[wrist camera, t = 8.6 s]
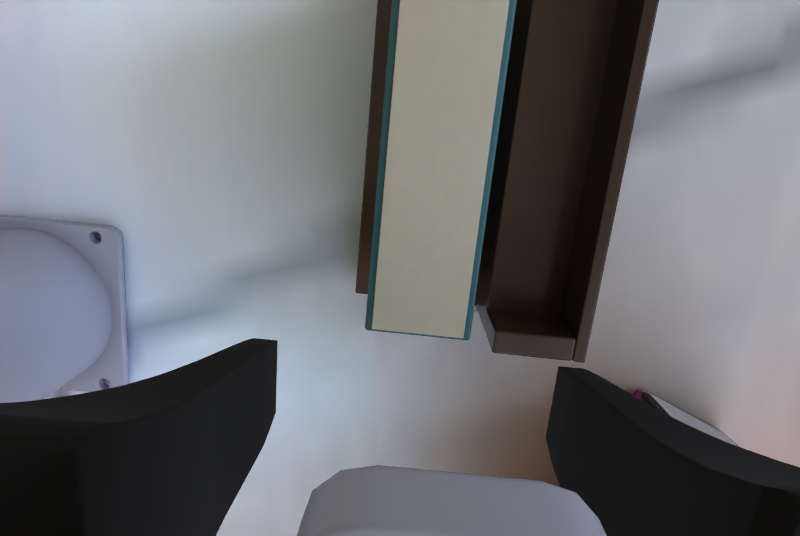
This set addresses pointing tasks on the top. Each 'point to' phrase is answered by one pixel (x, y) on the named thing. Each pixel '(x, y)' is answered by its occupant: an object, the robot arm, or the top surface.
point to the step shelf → (544, 168)
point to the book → (436, 162)
